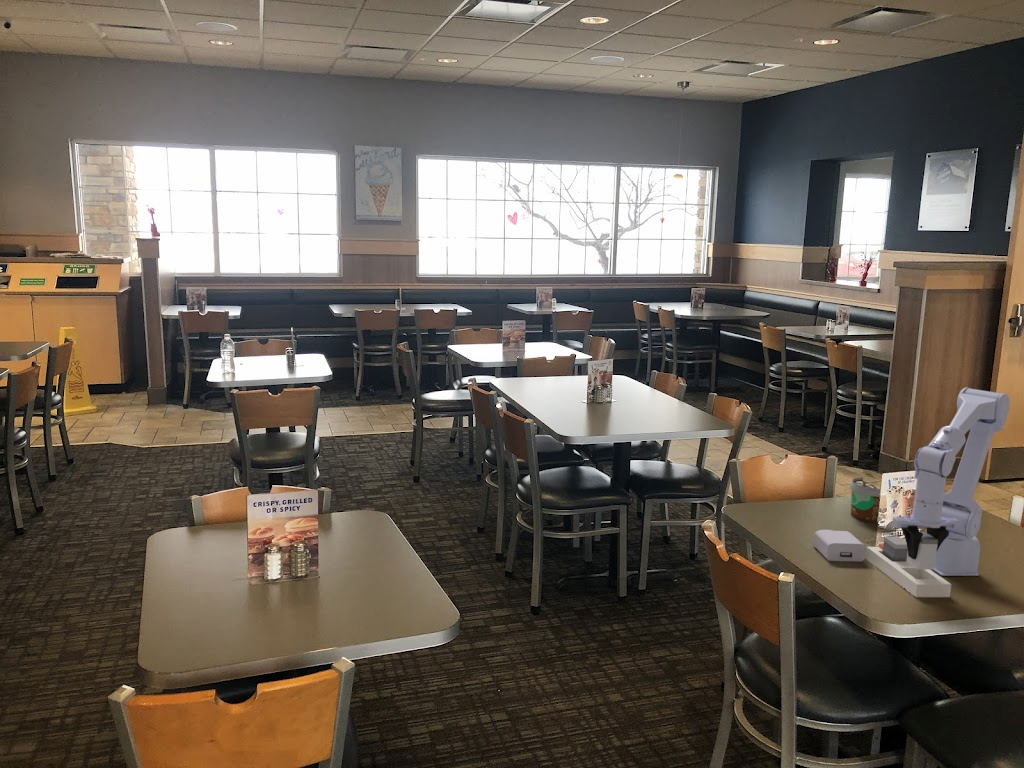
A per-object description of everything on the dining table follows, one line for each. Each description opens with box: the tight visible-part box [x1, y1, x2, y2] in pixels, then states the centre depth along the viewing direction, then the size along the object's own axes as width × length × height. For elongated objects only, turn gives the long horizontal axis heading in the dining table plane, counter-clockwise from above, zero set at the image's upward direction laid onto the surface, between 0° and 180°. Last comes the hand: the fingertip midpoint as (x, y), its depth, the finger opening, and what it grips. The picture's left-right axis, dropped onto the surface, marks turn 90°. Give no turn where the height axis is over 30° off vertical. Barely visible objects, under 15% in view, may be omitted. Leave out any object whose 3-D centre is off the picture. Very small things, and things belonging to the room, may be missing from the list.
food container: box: [849, 476, 881, 524], centre depth 234 cm, size 12×6×10 cm, turn 6°
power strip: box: [864, 543, 952, 598], centre depth 194 cm, size 8×22×4 cm, turn 5°
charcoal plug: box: [882, 536, 908, 562], centre depth 198 cm, size 4×5×7 cm
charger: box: [813, 529, 867, 562], centre depth 209 cm, size 5×9×15 cm
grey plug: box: [906, 531, 938, 571], centre depth 187 cm, size 4×5×7 cm
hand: (920, 557), depth 188 cm, fingers closed on grey plug, 4 cm apart
